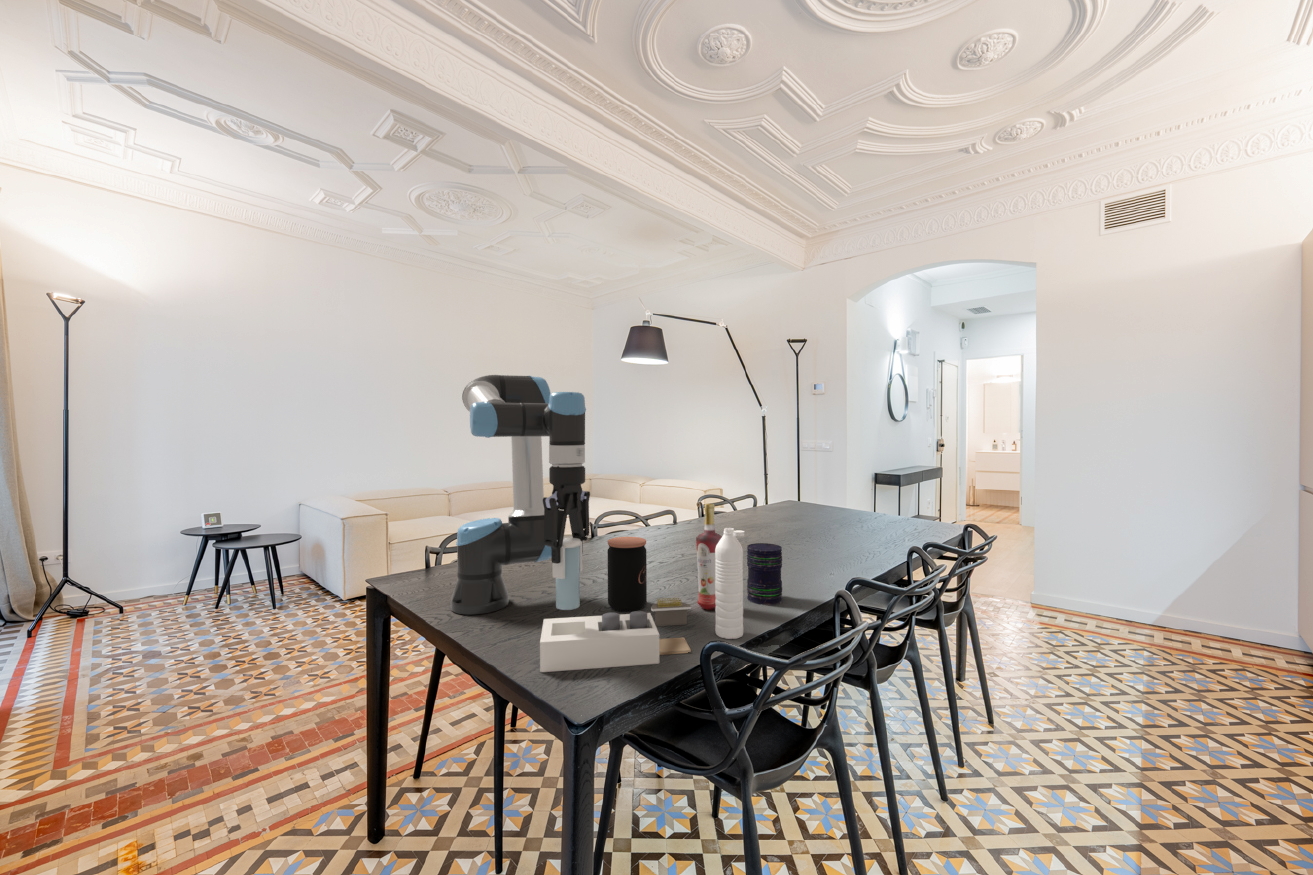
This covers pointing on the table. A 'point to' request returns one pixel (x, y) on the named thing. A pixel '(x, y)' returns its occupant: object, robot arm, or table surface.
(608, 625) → the button
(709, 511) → the liquor
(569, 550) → the cartridge
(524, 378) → the robot arm
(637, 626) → the button
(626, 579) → the coffee jar
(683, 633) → the table surface
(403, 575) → the table surface
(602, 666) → the housing
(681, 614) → the platform
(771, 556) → the storage jar
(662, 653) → the coaster
